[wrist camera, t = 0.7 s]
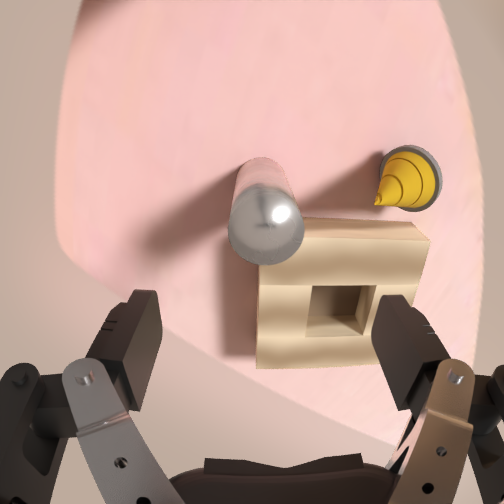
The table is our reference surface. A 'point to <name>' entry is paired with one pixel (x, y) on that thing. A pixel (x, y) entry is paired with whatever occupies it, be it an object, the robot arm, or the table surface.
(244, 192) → the pin
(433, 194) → the drill bit
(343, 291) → the socket block
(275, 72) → the table surface
